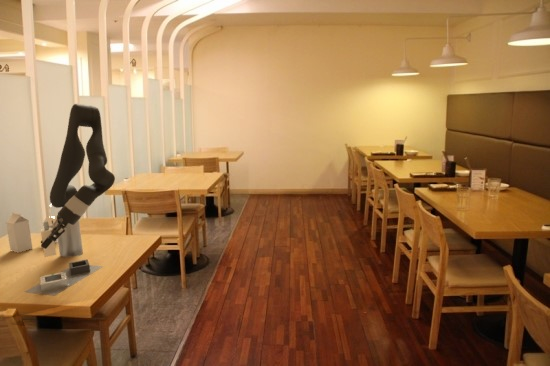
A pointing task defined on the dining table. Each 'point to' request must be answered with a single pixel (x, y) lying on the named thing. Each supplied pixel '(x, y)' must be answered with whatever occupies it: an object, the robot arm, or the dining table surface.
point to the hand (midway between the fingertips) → (43, 245)
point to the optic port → (53, 281)
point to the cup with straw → (51, 220)
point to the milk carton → (18, 233)
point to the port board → (70, 281)
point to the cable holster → (79, 267)
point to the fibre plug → (45, 233)
